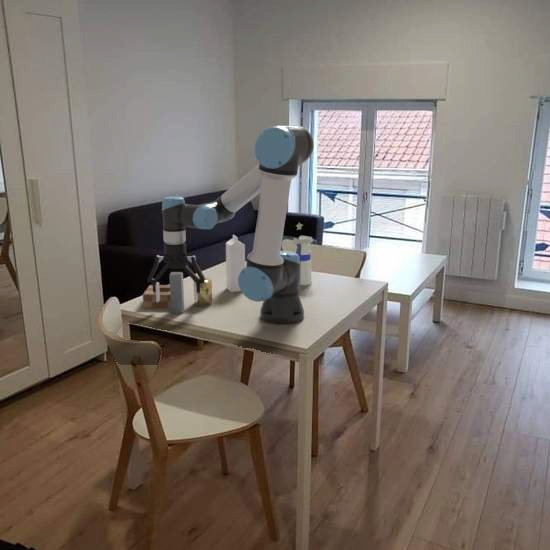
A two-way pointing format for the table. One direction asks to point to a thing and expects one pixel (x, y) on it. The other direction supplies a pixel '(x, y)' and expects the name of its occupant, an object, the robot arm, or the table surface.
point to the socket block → (150, 297)
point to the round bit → (205, 293)
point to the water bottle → (304, 257)
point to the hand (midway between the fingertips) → (177, 301)
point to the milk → (234, 262)
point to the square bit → (176, 292)
